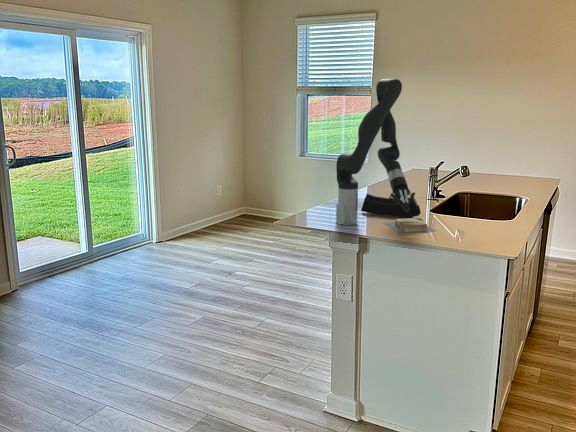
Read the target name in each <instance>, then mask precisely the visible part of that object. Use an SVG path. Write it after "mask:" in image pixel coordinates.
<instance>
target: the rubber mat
mask: <svg viewBox="0 0 576 432" xmlns="http://www.w3.org/2000/svg"><path fill="white" fill-rule="evenodd" d="M382 224H383V225H384V226H386V227H388V228H389V229H391V230H392V231H395V232H396V233H397V234H413V233H415V234H416V233H428V232H437V230H436V229H434V228H431V227H430V226H428V225H427V231H413V232H405V231H404V230H402V229H400V228H398V227H397V226H395V221H393V222H392V221H391V222H382Z"/></svg>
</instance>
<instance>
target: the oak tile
mask: <svg viewBox="0 0 576 432" xmlns="http://www.w3.org/2000/svg"><path fill="white" fill-rule="evenodd" d="M394 222H395V226H397V227H398V228H400V229H402V230H404V231H405V232H413V231H427V226H428V223H426V222H424V221H421V220H420V219H417V218H416V217H413V218H411V217H407V218H396V219H395V220H394Z"/></svg>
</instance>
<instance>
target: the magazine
mask: <svg viewBox="0 0 576 432" xmlns="http://www.w3.org/2000/svg"><path fill="white" fill-rule="evenodd" d="M409 199H410V197H408V200H409ZM409 207H410V210H409V211H408V212H405V211H404V210H403V208H402V205H400V204H399V205H398V204H396V203H395V202H394V201H393V200H391V199H390V198H389V197H382V196H376V195H372V194H369V193H368V192H367V193H366V194H365V198H364V200H363V202H362V207H361V211H360V212H364V213H369V214H371V215H372V214H373V215H375V214H376V215H377V216H385V217H386V216H387V217H388V216H389V217H397V218H416V217H419V216H420V215H421V213H422V212H421V208H420V205H419V203H418V202H417V199H416V198H415V196H414V197H413V199H412V201H411V203H410V204H409ZM376 215H375V216H376Z"/></svg>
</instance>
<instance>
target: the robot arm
mask: <svg viewBox="0 0 576 432" xmlns="http://www.w3.org/2000/svg"><path fill="white" fill-rule="evenodd" d="M375 87H376V89H375V90H376V91H375V92H376V98H377V99H376V100H377V104H376V105H375V106H373V107H372V108H371V109H370V110H369V111H367V113H366V114H365V115H364V117H363V118H362V120H361V122H360V123H359V126H358V131H357V132H358V133H357V136H358V138H357V139H358V141H357V145H356V146H355V149H354V151H353V153H345V152H344V153H341V154H339V155H338V157H337V159H336V164H335V167H336V168H335V169H336V171H335V172H336V181H337V186H338V187H337V188H338V193H337V194H338V195H337V196H338V197H337V198H338V199H337V201H338V202H337V203H336V209H335V211H336V212H335V215H336V216H335V223H336V224H338V223H340V224H339V225H341V224H343V225H342V226H355V225H357V224H358V206H359V205H358V201H359V198H358V197H359V183H358V180H356V179H355V178H354V177H353V175H357V174H358V173H359V172H360V171H361V170H362V169H363V166H364V164H365V161H366V158H367V156H368V154H369V151H370V149H371V147H372V145H373V142H374V140H375V138H376V136H377V135H378V134H379V132H381V133H380V135H381V136H380V137H381V141H382V142H383V143H387V144H390V146H383V147H380V148H379V149H378V151H377V157H378V160H379V161H380V163H381V164H382V166H383V167H384V168H385V170H386V174H387V178H388V183H389V186H390V189H391V191H392V192H391V193H390V195H389V196H388V198H390V199H391V200H393V201H394V202H395V203H396V204H398V205H399V204H400V205H402V208H403V210H404V211H405V212H408V211H409V210H410V207H409V204H410V203H411V201H412V199H413V197H414V198H415V195H416V192H411V190H410V189H409V186H408V182H407V180H406V176H405V174H404V172H403V169H402V167H401V164H400V162H399V161H398V159H399V158H400V154H401V153H400V149H399V145H398V142H397V130H396V129H397V127H396V126H397V125H396V121H395V119H394V116H393V114H392V112H391V109H392V108H393V106H394V104H395V103H396V102H397V100H398V99H399V97H400V95H401V93H402V91H403V90H402V89H403V85H402V81H401V80H400V79H398V78H383V79H379V81H378V82H377V84H376V86H375ZM408 198H410V199H409V200H408Z"/></svg>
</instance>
